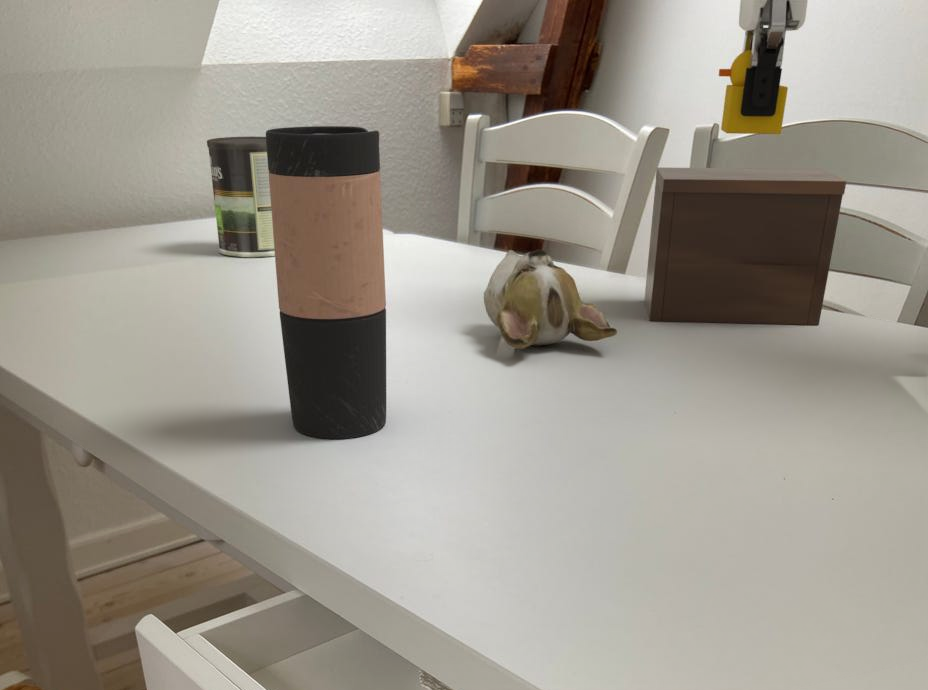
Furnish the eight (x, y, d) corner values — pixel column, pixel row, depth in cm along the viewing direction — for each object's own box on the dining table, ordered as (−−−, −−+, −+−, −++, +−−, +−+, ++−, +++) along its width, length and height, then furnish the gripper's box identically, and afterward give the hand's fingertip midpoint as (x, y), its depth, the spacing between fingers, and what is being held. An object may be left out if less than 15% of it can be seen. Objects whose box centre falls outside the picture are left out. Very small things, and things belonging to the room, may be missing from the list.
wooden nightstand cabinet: (644, 299, 113) (656, 167, 107) (799, 302, 112) (822, 168, 105) (649, 322, 104) (663, 179, 97) (819, 326, 102) (846, 181, 95)
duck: (773, 130, 101) (785, 49, 97) (780, 134, 97) (793, 50, 93) (709, 129, 101) (719, 49, 98) (714, 133, 98) (725, 50, 94)
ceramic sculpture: (559, 229, 100) (630, 266, 88) (553, 317, 105) (620, 362, 93) (459, 236, 97) (519, 275, 85) (458, 326, 102) (514, 374, 90)
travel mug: (270, 432, 74) (241, 132, 64) (319, 403, 81) (299, 124, 70) (362, 445, 72) (347, 135, 62) (406, 414, 78) (398, 127, 68)
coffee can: (221, 259, 135) (208, 143, 128) (217, 246, 144) (205, 137, 136) (297, 255, 137) (288, 141, 130) (289, 243, 146) (281, 135, 139)
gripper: (851, -132, 81) (809, 120, 91) (810, -106, 96) (778, 109, 105) (757, -131, 82) (724, 119, 91) (730, -105, 96) (705, 109, 106)
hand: (753, 112), depth 98 cm, fingers closed on duck, 4 cm apart
